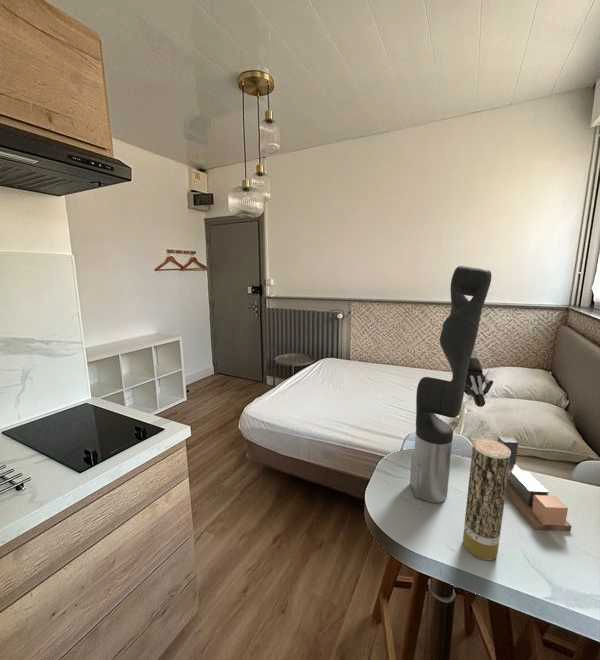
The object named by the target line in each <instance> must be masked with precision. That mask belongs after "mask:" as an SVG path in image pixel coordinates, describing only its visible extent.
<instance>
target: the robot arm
mask: <svg viewBox="0 0 600 660" xmlns="http://www.w3.org/2000/svg"><path fill="white" fill-rule="evenodd" d="M492 278H493V277H492V272H491V270H490V269H489V268H485V267H477V266H469V265H458V266H457V267H456V268H455V269H454V271H453V274H452V277H451V280H450V290H449V291H450V301H451V302H450V303H451V307H450V312H449V316H447V317H446V319H445V320H444V321H443V324H442V329H441V332H440V335H439V343H440V347H441V349H442V352H443V354H444V356H445V358H446V359H447V362H448V363H449V367H450V369H451V375H452V377H451V380H445V379H440V378H436V377H430V376H425V377H422V378H421V379H420V380H419V382H418V385H417V389H416V399H415V405H416V406H415V407H416V410H415V411H416V412H415V414H416V415H415V440H414V454H411V462H410V463H411V464H410V476H409V485H410V488H411V490H412V491H413V494H414V496H415V498H416V499H421V500H423V501H425V502H429V503H432V504H433V503H437V504H438V503H442V502H444V501H446V500H447V499H448V498H447V497H448V491H449V480H450V470H451V469H450V468H451V457H452V447H453V446H452V445H453V436H454V433H453V432H454V431H453V428H452V426H451V425H450V424H448V423H447V422H446V421H444V420H442V419H441V418H439V417H438V415H439V416H443V417H445V418H452V419H453V418H456V417H457V416H458V415H460V412H461V409H462V405H463V403H464V402H463V400H464V397H465V394H466V395H467V396H472V397H473V401H474V404H475V405H476V406H477V407H478V408H479V407H480V408H483V407H484V406H485V405H486V401H485V400H486V399H485V396H486V395H488V393H489V391H490V389H492V388H491V387H492V386H493V384H494V381H493V380H489V379H487V377H486V376H485V375H484V373H483V369H482V365H481V362H480V358H479V356H478V353H477V352H476V349H475V344H476V340H477V335H478V332H479V327H480V321H481V318H482V317H481V315H482V312H483V307H484V305H485V302H486V298H487V296H488V293H489V289H490V286H491V282H492ZM466 296H469V297H472V298H471V299H468V297H466ZM483 385H484V386H483Z"/></svg>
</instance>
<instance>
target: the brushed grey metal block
mask: <svg viewBox="0 0 600 660" xmlns="http://www.w3.org/2000/svg"><path fill="white" fill-rule="evenodd" d="M497 442H500V443H502V444H504V445H506V446H507V447H508V448H509V449H510V451H511V456H510V464H509V471H508V479H509V480H510V474H511V471H519V472H523V470H521V469H520V468H519V467H518V466H517V465H516V461H517V454H518V447H519V442H518V441H517V440H516V439H515V438H514V437H512V436H498V437H497ZM534 495H544V496H546V495H545V494H544V493H531V499H530V503H531V504H532V505H533V501H534Z"/></svg>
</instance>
